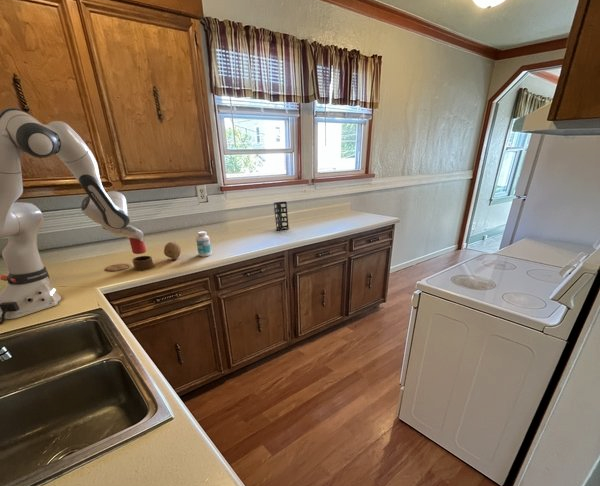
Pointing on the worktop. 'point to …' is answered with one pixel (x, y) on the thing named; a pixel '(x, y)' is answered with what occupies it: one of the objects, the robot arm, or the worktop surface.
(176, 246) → the natural sponge
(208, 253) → the pill bottle
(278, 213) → the holder
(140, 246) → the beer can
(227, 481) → the worktop surface
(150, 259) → the cup
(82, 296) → the worktop surface
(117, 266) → the coaster
